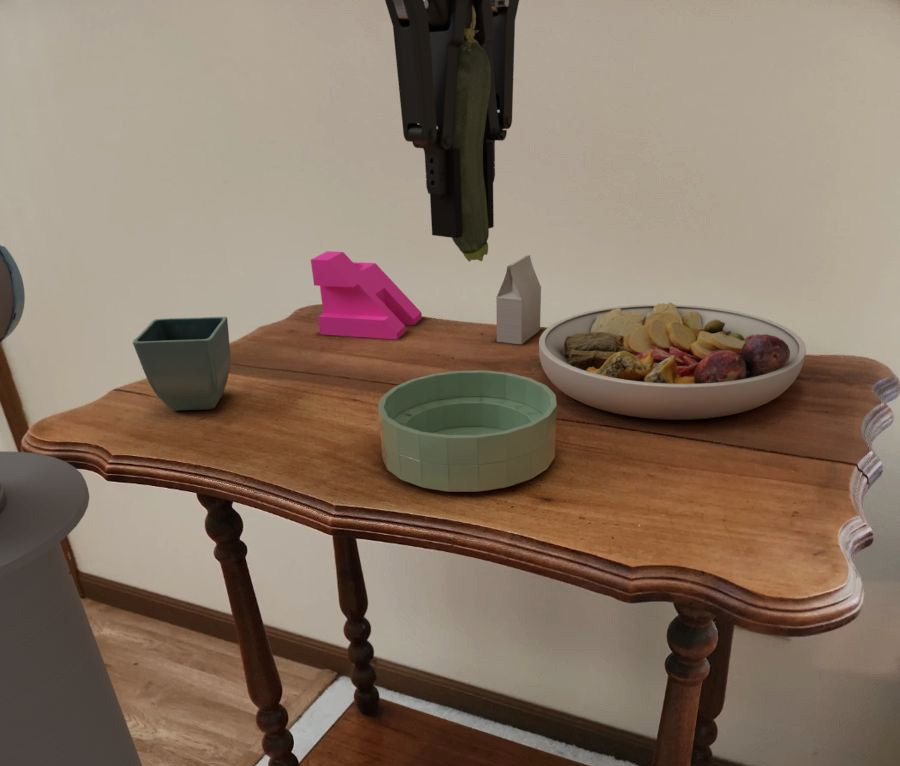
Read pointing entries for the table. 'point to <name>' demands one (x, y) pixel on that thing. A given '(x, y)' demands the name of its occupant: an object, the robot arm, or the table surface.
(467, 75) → the vegetable
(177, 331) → the flower pot
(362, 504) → the table surface
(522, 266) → the milk carton
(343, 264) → the bracket
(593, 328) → the bowl
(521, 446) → the mixing bowl
